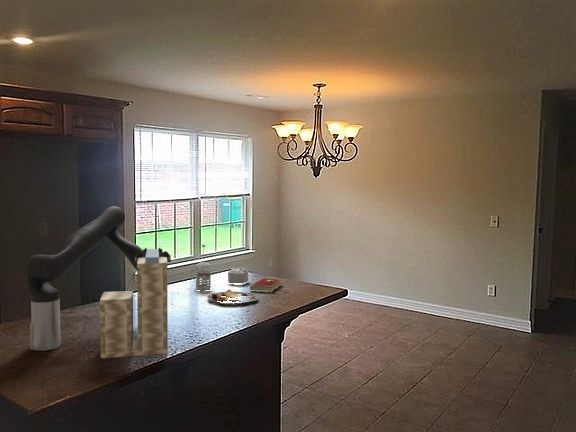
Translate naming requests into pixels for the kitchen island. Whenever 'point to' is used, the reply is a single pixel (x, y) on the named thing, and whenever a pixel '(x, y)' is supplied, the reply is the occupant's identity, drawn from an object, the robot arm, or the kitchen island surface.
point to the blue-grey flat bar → (152, 256)
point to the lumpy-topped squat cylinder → (238, 275)
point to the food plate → (231, 294)
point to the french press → (203, 273)
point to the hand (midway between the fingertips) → (152, 250)
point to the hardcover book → (265, 284)
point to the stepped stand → (149, 315)
